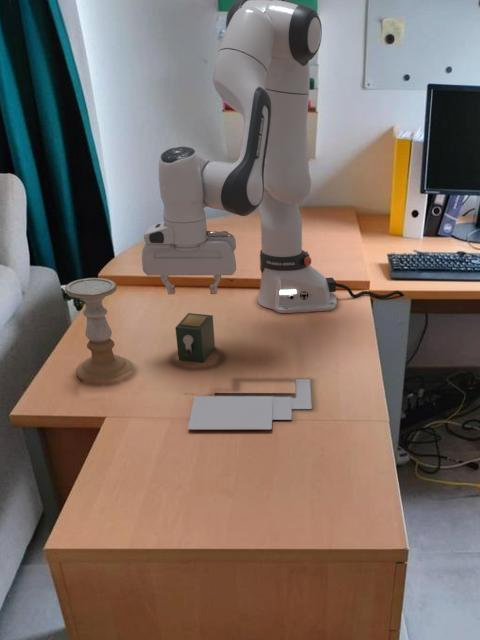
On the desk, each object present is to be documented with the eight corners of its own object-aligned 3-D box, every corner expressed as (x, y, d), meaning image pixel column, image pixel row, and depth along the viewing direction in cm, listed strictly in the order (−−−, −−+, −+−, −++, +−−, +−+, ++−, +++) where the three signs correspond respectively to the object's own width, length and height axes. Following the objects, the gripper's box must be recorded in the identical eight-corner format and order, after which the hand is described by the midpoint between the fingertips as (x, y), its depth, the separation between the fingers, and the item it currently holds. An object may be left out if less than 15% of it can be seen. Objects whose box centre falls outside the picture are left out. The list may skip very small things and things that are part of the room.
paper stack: (199, 379, 162) (198, 376, 161) (310, 379, 164) (310, 376, 163) (187, 432, 143) (187, 429, 142) (313, 432, 145) (313, 429, 144)
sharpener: (191, 343, 174) (188, 311, 170) (215, 346, 174) (213, 314, 169) (174, 365, 165) (170, 331, 160) (199, 367, 164) (196, 334, 159)
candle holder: (143, 365, 167) (131, 279, 155) (116, 388, 157) (102, 299, 145) (95, 357, 169) (80, 273, 158) (66, 380, 159) (47, 291, 148)
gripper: (235, 227, 158) (239, 288, 166) (141, 227, 156) (149, 288, 164) (234, 235, 152) (238, 298, 160) (136, 235, 151) (145, 299, 159)
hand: (192, 293), depth 162 cm, fingers open, 8 cm apart
